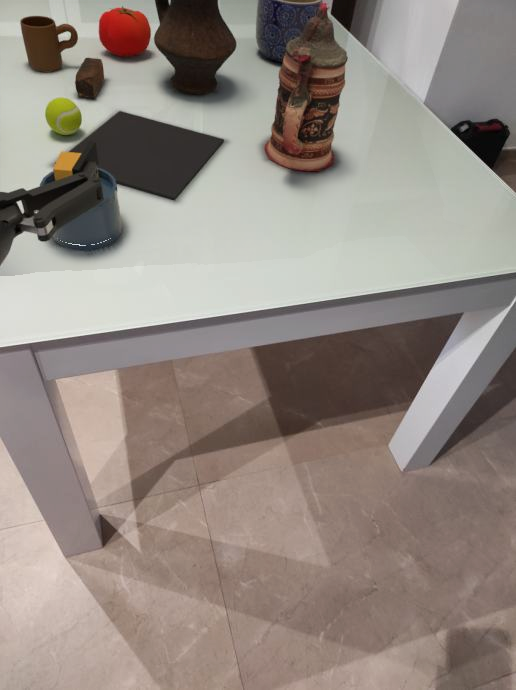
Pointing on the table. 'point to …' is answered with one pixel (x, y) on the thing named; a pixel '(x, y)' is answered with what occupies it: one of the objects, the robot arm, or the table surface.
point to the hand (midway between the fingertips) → (38, 144)
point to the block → (65, 164)
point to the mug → (45, 42)
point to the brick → (89, 77)
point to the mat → (150, 153)
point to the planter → (282, 24)
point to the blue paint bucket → (92, 219)
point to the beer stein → (308, 97)
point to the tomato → (124, 32)
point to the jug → (193, 42)
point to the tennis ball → (63, 116)
